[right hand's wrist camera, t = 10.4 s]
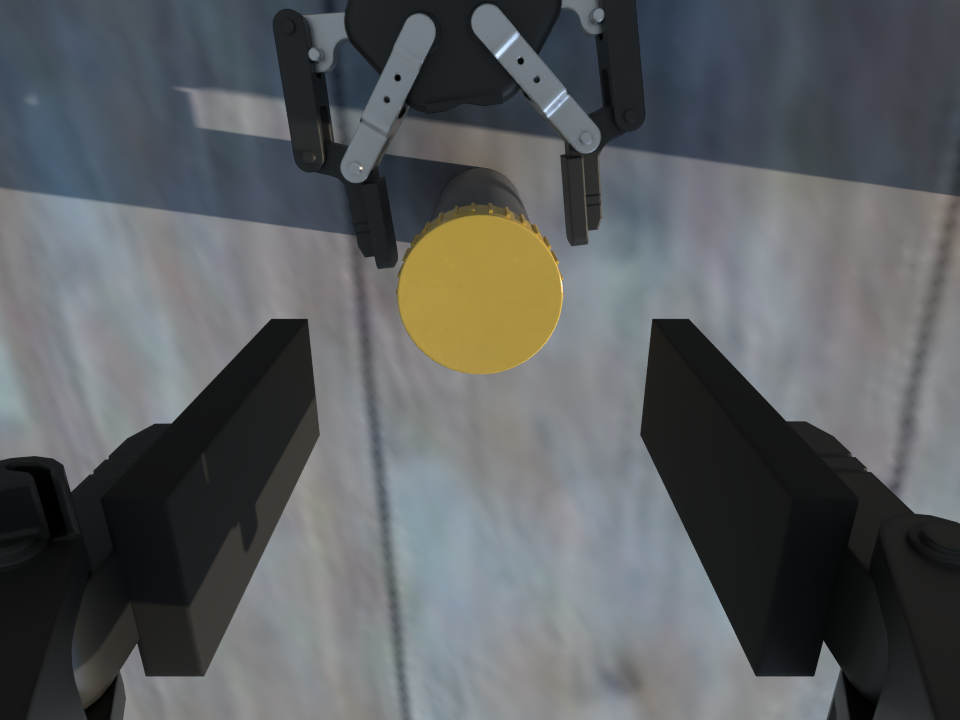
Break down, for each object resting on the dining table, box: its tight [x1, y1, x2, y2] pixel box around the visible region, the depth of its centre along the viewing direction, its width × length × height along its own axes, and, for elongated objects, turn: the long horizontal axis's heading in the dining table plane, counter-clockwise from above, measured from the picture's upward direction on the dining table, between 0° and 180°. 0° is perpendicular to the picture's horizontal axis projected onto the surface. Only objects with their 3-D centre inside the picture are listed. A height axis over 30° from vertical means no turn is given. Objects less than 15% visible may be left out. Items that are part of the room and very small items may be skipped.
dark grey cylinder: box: [430, 168, 531, 224], centre depth 27 cm, size 4×4×16 cm
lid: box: [396, 202, 564, 374], centre depth 20 cm, size 5×5×2 cm
